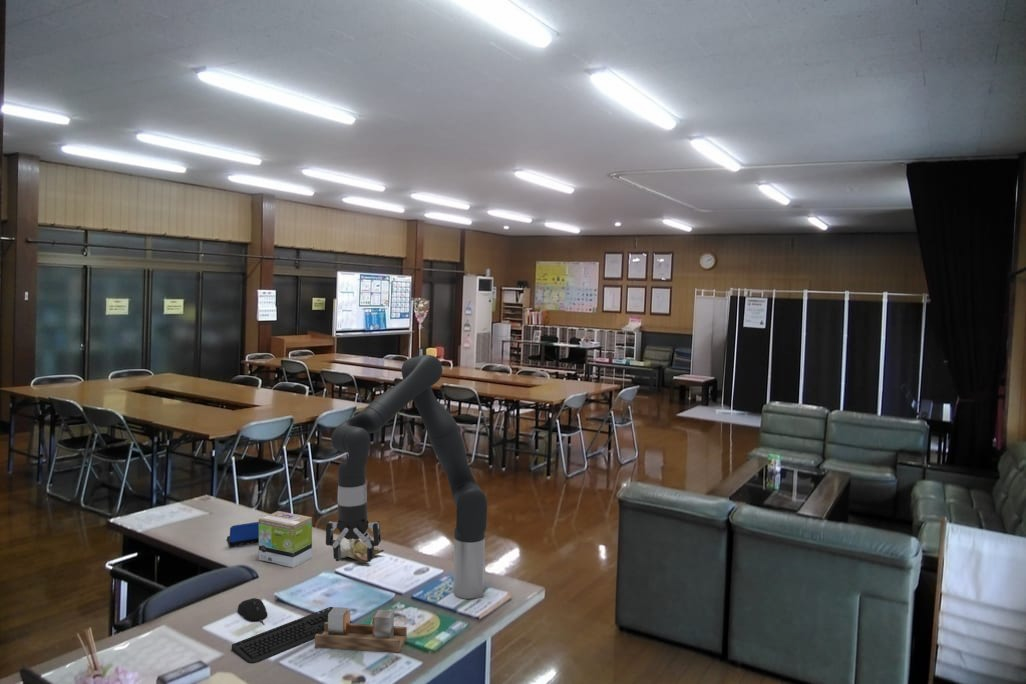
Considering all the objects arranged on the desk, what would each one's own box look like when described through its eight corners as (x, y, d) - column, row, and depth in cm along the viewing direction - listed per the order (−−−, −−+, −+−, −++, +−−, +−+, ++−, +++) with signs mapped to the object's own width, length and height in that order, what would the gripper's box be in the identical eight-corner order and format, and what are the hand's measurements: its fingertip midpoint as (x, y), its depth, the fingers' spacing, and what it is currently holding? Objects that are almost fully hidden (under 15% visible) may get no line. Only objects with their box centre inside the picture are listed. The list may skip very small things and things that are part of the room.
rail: (406, 637, 178) (406, 608, 177) (399, 652, 170) (399, 621, 170) (325, 632, 180) (325, 603, 179) (315, 647, 172) (314, 616, 172)
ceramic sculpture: (347, 526, 238) (385, 533, 234) (346, 550, 239) (384, 557, 234) (331, 536, 228) (370, 544, 223) (329, 561, 228) (369, 569, 224)
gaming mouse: (252, 629, 182) (252, 615, 181) (234, 609, 193) (234, 596, 193) (275, 622, 186) (275, 608, 185) (256, 603, 197) (256, 590, 197)
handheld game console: (270, 532, 256) (270, 509, 255) (277, 544, 244) (277, 519, 244) (226, 539, 248) (226, 514, 248) (230, 551, 237) (230, 525, 236)
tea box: (257, 561, 228) (257, 518, 227) (278, 551, 237) (278, 509, 236) (293, 568, 222) (293, 524, 221) (313, 557, 231) (313, 515, 231)
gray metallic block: (333, 632, 178) (333, 607, 177) (350, 634, 177) (350, 608, 177) (328, 640, 174) (328, 614, 173) (345, 641, 173) (345, 615, 173)
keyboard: (251, 667, 163) (251, 659, 163) (230, 651, 171) (230, 643, 171) (354, 624, 186) (354, 617, 185) (331, 612, 193) (331, 605, 193)
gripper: (382, 496, 182) (383, 555, 183) (330, 496, 183) (332, 554, 184) (375, 505, 174) (376, 566, 175) (321, 504, 175) (322, 565, 176)
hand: (353, 560), depth 179 cm, fingers open, 8 cm apart
